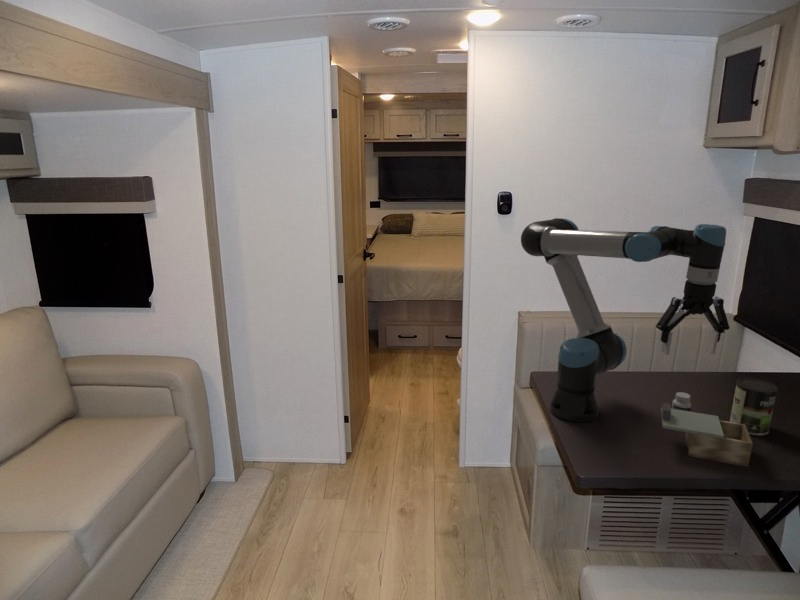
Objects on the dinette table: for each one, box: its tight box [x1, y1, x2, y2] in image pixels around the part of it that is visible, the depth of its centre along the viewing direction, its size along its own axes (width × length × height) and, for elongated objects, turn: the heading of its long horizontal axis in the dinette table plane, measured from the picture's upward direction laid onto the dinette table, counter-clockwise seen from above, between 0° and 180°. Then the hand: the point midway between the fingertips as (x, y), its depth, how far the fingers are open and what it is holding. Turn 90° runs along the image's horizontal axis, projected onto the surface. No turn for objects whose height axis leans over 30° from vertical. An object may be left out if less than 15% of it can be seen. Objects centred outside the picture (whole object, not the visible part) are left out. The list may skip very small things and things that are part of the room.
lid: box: [660, 402, 724, 439], centre depth 147 cm, size 15×12×4 cm
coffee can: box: [728, 377, 779, 437], centre depth 157 cm, size 10×10×14 cm
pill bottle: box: [671, 391, 693, 412], centre depth 161 cm, size 5×5×9 cm
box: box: [685, 419, 754, 468], centre depth 145 cm, size 14×11×7 cm
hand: (687, 352), depth 150 cm, fingers open, 13 cm apart
